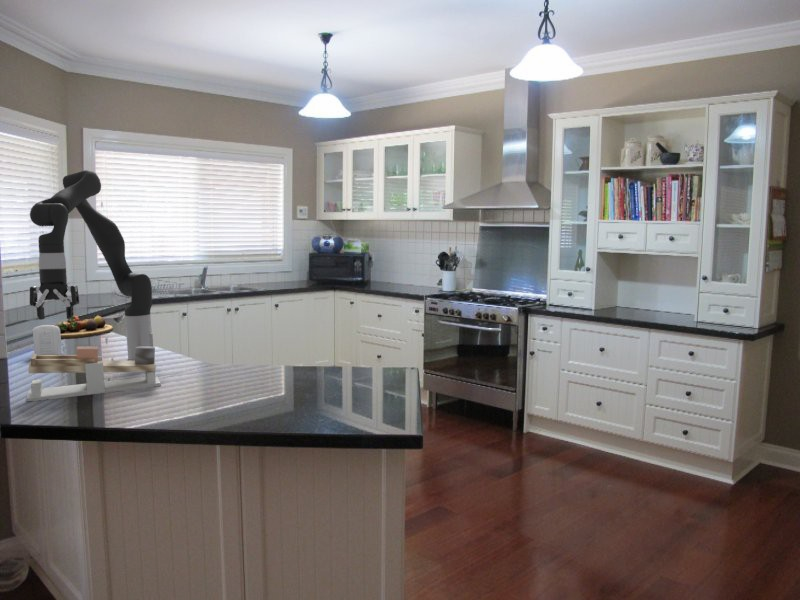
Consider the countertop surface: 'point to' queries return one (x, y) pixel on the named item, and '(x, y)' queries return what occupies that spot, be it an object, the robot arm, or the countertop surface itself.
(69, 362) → the beam
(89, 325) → the wooden plate with food
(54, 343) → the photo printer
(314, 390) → the countertop surface
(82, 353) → the rider
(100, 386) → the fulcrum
